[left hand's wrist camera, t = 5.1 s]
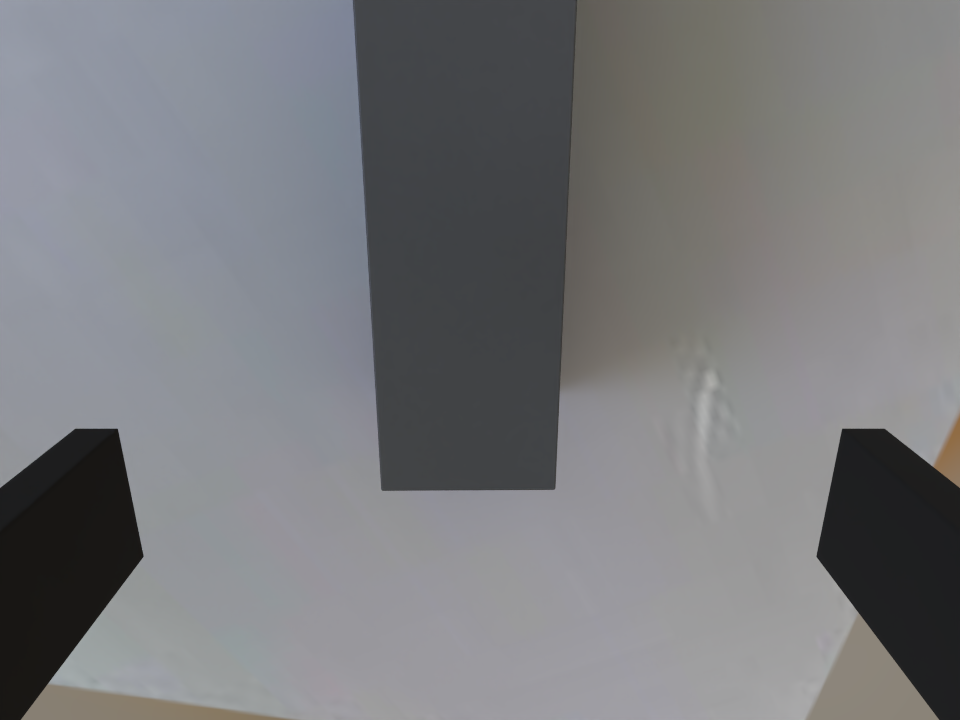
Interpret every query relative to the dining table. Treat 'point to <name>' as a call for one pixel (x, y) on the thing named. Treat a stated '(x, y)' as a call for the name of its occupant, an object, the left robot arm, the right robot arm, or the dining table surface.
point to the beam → (466, 234)
